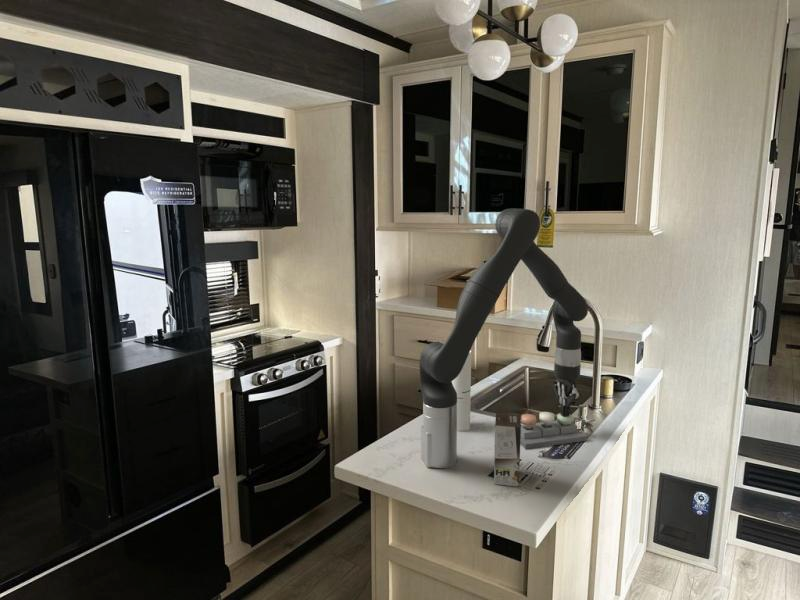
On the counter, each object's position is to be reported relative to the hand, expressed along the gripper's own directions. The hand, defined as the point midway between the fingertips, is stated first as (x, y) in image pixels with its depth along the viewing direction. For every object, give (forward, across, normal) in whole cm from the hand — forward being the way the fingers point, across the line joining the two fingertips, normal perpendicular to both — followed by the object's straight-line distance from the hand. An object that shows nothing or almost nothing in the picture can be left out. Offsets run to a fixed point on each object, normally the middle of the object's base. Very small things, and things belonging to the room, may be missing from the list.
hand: (564, 415), depth 167 cm
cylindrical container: (+6, -14, -29) cm, 33 cm away
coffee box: (+6, +19, -28) cm, 34 cm away
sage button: (+4, 0, 0) cm, 4 cm away
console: (+6, 0, -6) cm, 8 cm away
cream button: (+2, 0, -6) cm, 7 cm away
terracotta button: (+2, 0, -12) cm, 12 cm away
